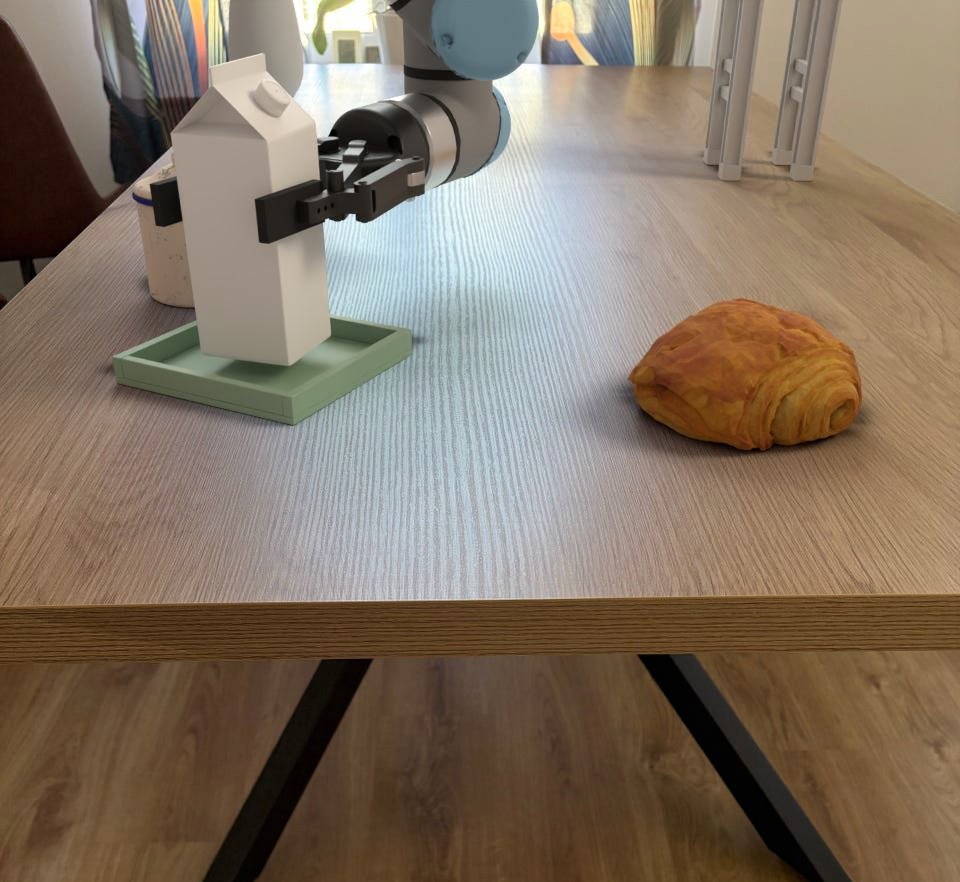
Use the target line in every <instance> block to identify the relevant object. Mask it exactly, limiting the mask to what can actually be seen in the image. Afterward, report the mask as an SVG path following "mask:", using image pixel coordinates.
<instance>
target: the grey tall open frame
mask: <svg viewBox="0 0 960 882" xmlns="http://www.w3.org/2000/svg"><path fill="white" fill-rule="evenodd" d="M764 4H765V0H721V5H720V12H719V13H720V14H719V19H718V20H719V21H718V29H717V37H716V38H717V39H716V47H715V55H714V63H713V74H712V80H711V81H712V82H711V90H710V91H711V92H710V98H709V108H708V115H707V116H708V117H707V125H706V134H705V143H704V144H705V145H704V150H703V151H704V152H703V158H702V162H703V163H704V164H705V165H706V166H718V172H717V178H718V179H719V180H720V181H728V182H729V181H730V182H731V181H732V182H733V181H735V182H736V181H741V176H742V168H743V162H744V161H743V160H744V154H745V145H746V137H747V130H748V124H749V116H750V107H751V101H752V95H753V94H752V93H753V86H754V78H755V70H756V63H757V55H758V48H759V41H760V35H761V34H760V32H761V26H762V20H763V12H764ZM842 6H843V0H794V3H793V9H792V10H793V11H792V17H791V23H790V30H789V35H788V36H789V37H788V44H787V51H786V57H785V64H784V72H783V78H782V84H781V91H780V98H779V104H778V110H777V118H776V126H775V130H774V131H775V132H774V139H773V145H772V146H773V147H772V153H771V157H770V158H771V159H770V162H771V163H772V164H773V165H774V166H790V170H789V178H790V179H791V180H792V181H793V182H813V178H814V172H815V166H816V160H817V154H818V149H819V142H820V136H821V132H822V125H823V119H824V112H825V106H826V101H827V95H828V89H829V83H830V76H831V71H832V65H833V61H834V60H833V59H834V54H835V47H836V41H837V36H838V29H839V24H840V17H841V11H842Z"/></svg>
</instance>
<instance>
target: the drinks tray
mask: <svg viewBox="0 0 960 882" xmlns="http://www.w3.org/2000/svg"><path fill="white" fill-rule="evenodd" d="M330 326H331V336H330V337H328V338H327V339H326V340H324V341H323V342H322V343H320V344H319V345H318V346H316V347H315V348H314V349H312V350H311V351H310V352H308V353H307V354H306V355H304V356H303V357H302V358H300V359H299V360H298V361H296V362H295V363H294V364H292V365H291V366H282V365H274V364H267V363H259V362H251V361H244V360H236V359H229V358H221V357H214V356H206V355H202V354H201V347H200V340H199V333H198V326H197V319H195V320H193V321H190V322H189V323H187V324H184V325H182V326H179V327H177V328H175V329H173V330H170V331H168V332H166V333H163V334H161V335H159V336H156V337H154V338H152V339H150V340H146V341H145V342H142V343H141V344H138V345H136V346H134V347H131V348H129V349H127V350H124V351H122V352H119V353H118V354H115V355H113V356H112V357H111V359H112V364H113V370H114V377H115V381H116V384H119V385H123V386H127V387H132V388H136V389H140V390H143V391H148V392H152V393H156V394H161V395H165V396H170V397H174V398H177V399H182V400H186V401H190V402H193V403H197V404H198V403H199V404H203V405H207V406H210V407H216V408H219V409H224V410H227V411H232V412H237V413H240V414H245V415H249V416H253V417H258V418H262V419H265V420H270V421H273V422H278V423H283V424H287V425H290V426H295V425H297V424H298V423H300V422H302V421H304V420H306V419H307V418H309V417H310V416H312V415H314V414H315V413H317V412H318V411H321V410H322V409H323V408H325V407H327V406H328V405H331V404H332V403H334V402H336V401H337V400H339V399H340V398H342V397H343V396H345V395H347V394H348V393H350V392H352V391H354V390H355V389H357V388H358V387H361V386H362V385H364V384H365V383H367V382H369V381H370V380H372V379H374V378H375V377H377V376H378V375H381V374H382V373H384V372H385V371H387V370H388V369H390V368H392V367H394V366H395V365H397V364H398V363H400V362H402V361H404V360H405V359H406V358H409V357H410V356H412V355H413V335H412V332H413V331H412V329H411V328H406V327H401V326H396V325H392V324H391V325H389V324H385V323H381V322H375V321H369V320H365V319H358V318H354V317H349V316H344V315H343V316H342V315H337V314H332V313H330Z"/></svg>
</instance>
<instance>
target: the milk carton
mask: <svg viewBox="0 0 960 882" xmlns="http://www.w3.org/2000/svg"><path fill="white" fill-rule="evenodd" d="M208 75H209V83H210V86H209V87H208V89H207V90H206V91H205V92H204V93H203V94H202V95H201V96H200V98H199V99H198V100H197V101H196V102H195V104H194V105H193V106H192V107H191V109H190V110H189V111H188V112H187V113H186V114H185V115H184V117H183V118H182V119H181V120H180V121H179V123H178V124H177V125H176V126H175V127H174V129H172V131H171V132H170V133H169V134H170V139H171V146H172V152H173V154H174V161H175V169H176V176H177V183H178V190H179V197H180V204H181V211H182V219H183V226H184V233H185V240H186V247H187V254H188V262H189V269H190V276H191V283H192V290H193V297H194V304H195V307H194V312H195V320H197V326H198V333H199V340H200V347H201V354H202V355H206V356H214V357H221V358H229V359H236V360H244V361H251V362H259V363H267V364H274V365H282V366H291V365H292V364H294V363H295V362H296V361H298V360H299V359H300V358H302V357H303V356H304V355H306V354H307V353H308V352H310V351H311V350H312V349H314V348H315V347H316V346H318V345H319V344H320V343H322V342H323V341H324V340H326V339H327V338H328V337H330V336H331V326H330V314H331V313H330V299H329V285H328V271H327V259H326V245H325V244H326V243H325V231H324V223H321V224H319V225H316V226H314V227H311V228H309V229H306V230H303V231H301V232H298V233H296V234H293V235H291V236H288V237H285V238H283V239H280V240H278V241H275V242H273V243H270V244H264V243H259V238H258V228H257V218H256V208H255V199H256V198H259V197H262V196H265V195H268V194H271V193H274V192H277V191H280V190H283V189H286V188H289V187H292V186H295V185H298V184H301V183H304V182H307V181H310V180H313V179H315V180H320V174H319V160H318V146H317V138H318V135H317V134H318V133H317V126H316V121H315V119H314V118H313V117H312V116H311V115H310V114H309V113H308V111H306V110H305V109H304V108H303V107H302V106H301V105H300V104H299V103H298V102H297V100H296V99H295V98H292V97H291V96H290V95H289V94H288V93H287V92H286V91H285V90H284V89H283V88H282V86H281V85H280V84H279V83H278V82H277V81H276V80H275V79H274V78H273V77H272V76H271V75H270V74H269V73H268V72H267V71H266V61H265V54H258V55H254V56H250V57H246V58H242V59H238V60H234V61H227V62H223V63H218V64H215V65H210V66H208Z"/></svg>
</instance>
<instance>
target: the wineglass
mask: <svg viewBox="0 0 960 882" xmlns="http://www.w3.org/2000/svg"><path fill="white" fill-rule="evenodd" d="M228 6H229V7H228V31H227V32H228V60H229V61H228V62H230V61H234V60H238V59H242V58H246V57H250V56H254V55H258V54H265V61H266V71H267V72H268V73H269V74H270V75H271V76H272V77H273V78H274V79H275V80H276V81H277V82H278V83H279V84H280V85H281V86H282V88H283V89H284V90H285V91H286V92H287V93H288V94H289V95H290V96H291V97H292V98H293V99H295V98H294V97H295V96H296V94H297V93H298V91H299V89H300V87H301V85H302V83H303V77H304V67H305V66H304V65H305V64H304V63H305V62H304V52H303V45H302V39H301V33H300V32H301V31H300V28H299V27H300V26H299V21H298V17H297V12H296V8H295V4H294V0H229V5H228Z"/></svg>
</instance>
